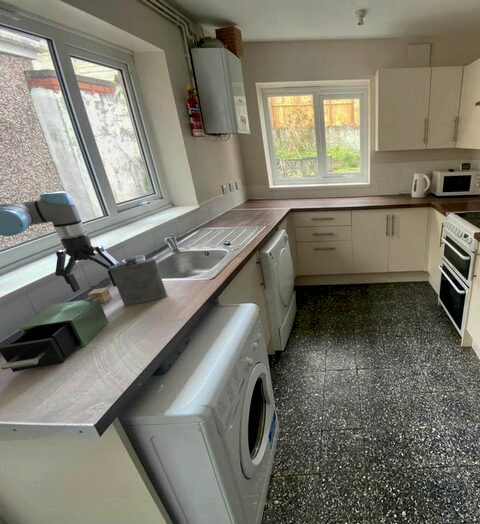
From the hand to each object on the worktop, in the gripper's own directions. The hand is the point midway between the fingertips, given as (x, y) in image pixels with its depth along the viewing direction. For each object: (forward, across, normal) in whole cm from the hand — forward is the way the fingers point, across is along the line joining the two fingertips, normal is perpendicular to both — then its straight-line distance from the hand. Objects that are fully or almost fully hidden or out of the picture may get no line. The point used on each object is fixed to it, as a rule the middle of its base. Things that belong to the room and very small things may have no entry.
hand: (97, 287), depth 112 cm
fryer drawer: (+5, -5, +37) cm, 38 cm away
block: (+6, 0, 0) cm, 6 cm away
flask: (+6, -18, +6) cm, 20 cm away
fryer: (+6, -5, +26) cm, 27 cm away
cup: (+6, -10, -12) cm, 17 cm away
